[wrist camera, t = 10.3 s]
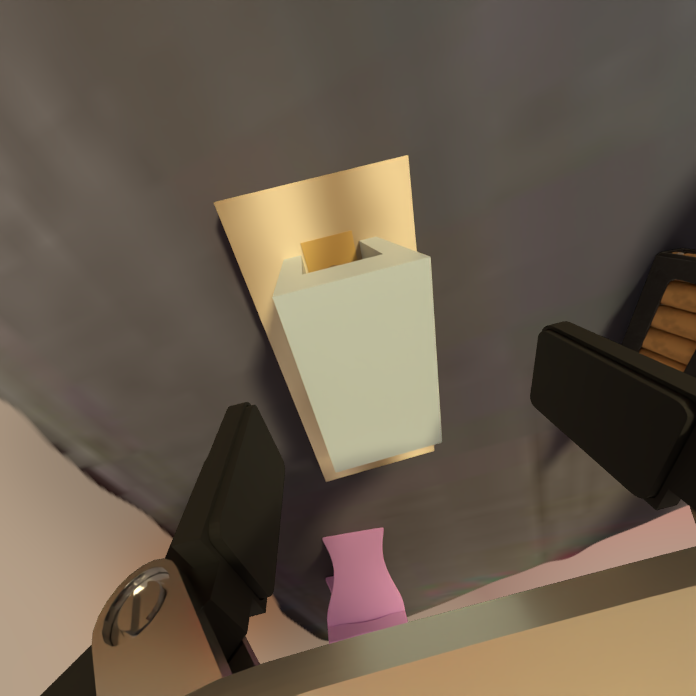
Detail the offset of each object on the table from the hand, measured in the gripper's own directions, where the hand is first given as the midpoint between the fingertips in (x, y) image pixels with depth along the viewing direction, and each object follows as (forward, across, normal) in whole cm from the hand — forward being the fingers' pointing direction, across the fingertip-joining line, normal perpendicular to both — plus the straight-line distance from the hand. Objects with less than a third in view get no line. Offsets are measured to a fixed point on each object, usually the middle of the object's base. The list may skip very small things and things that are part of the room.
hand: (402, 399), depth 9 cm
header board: (+9, +1, +3) cm, 9 cm away
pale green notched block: (+8, +1, 0) cm, 8 cm away
